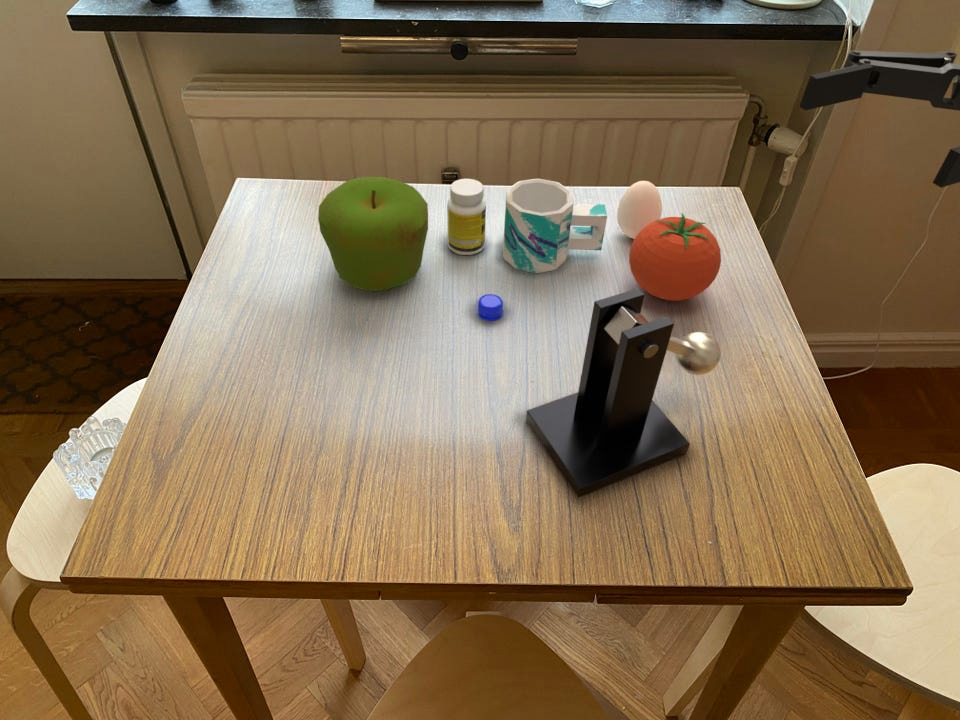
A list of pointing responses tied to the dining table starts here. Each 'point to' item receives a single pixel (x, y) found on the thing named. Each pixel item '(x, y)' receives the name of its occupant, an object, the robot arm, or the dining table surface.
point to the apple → (374, 231)
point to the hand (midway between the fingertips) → (870, 128)
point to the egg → (638, 208)
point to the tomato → (675, 258)
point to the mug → (548, 225)
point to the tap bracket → (612, 405)
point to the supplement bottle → (466, 217)
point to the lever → (673, 343)
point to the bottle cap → (490, 307)
